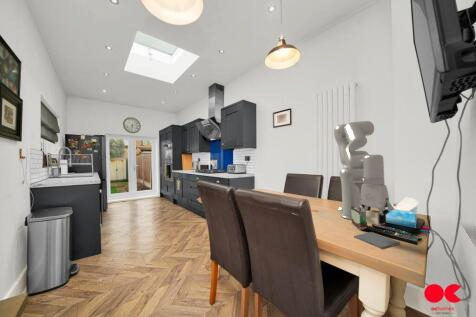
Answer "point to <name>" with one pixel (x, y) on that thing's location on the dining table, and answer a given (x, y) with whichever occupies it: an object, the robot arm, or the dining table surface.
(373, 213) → the birch cube
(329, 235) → the dining table surface
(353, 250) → the dining table surface
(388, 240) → the charcoal mat
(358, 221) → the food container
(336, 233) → the dining table surface
